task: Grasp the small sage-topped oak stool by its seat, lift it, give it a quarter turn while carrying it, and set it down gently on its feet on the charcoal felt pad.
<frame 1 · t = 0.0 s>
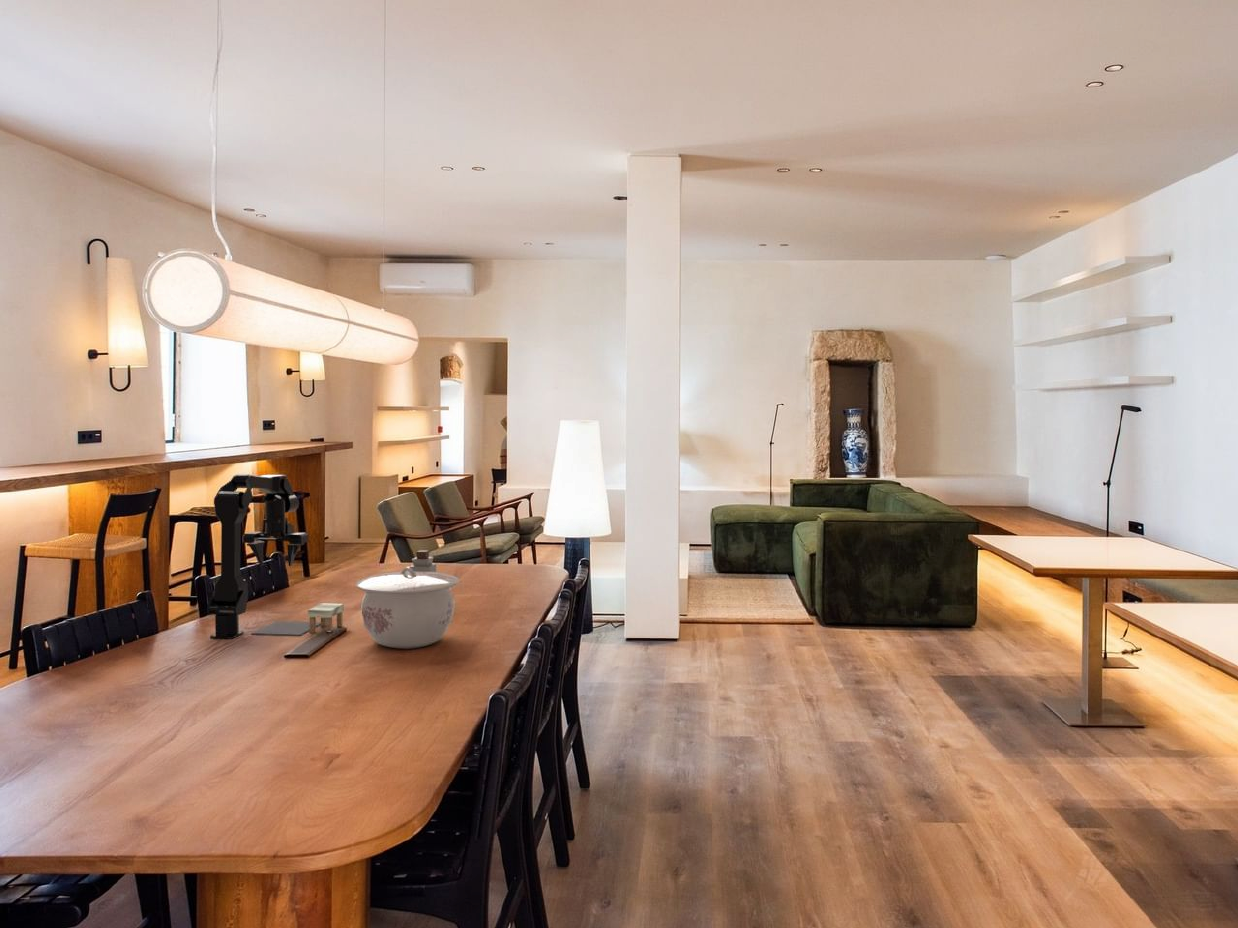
hand: (276, 565, 265), 15 cm above the table, fingers open, 9 cm apart
perfume bottle: (423, 607, 276), on the table
chamber pot: (409, 642, 232), on the table
felt pad: (287, 629, 246), on the table
stool: (326, 629, 246), on the table
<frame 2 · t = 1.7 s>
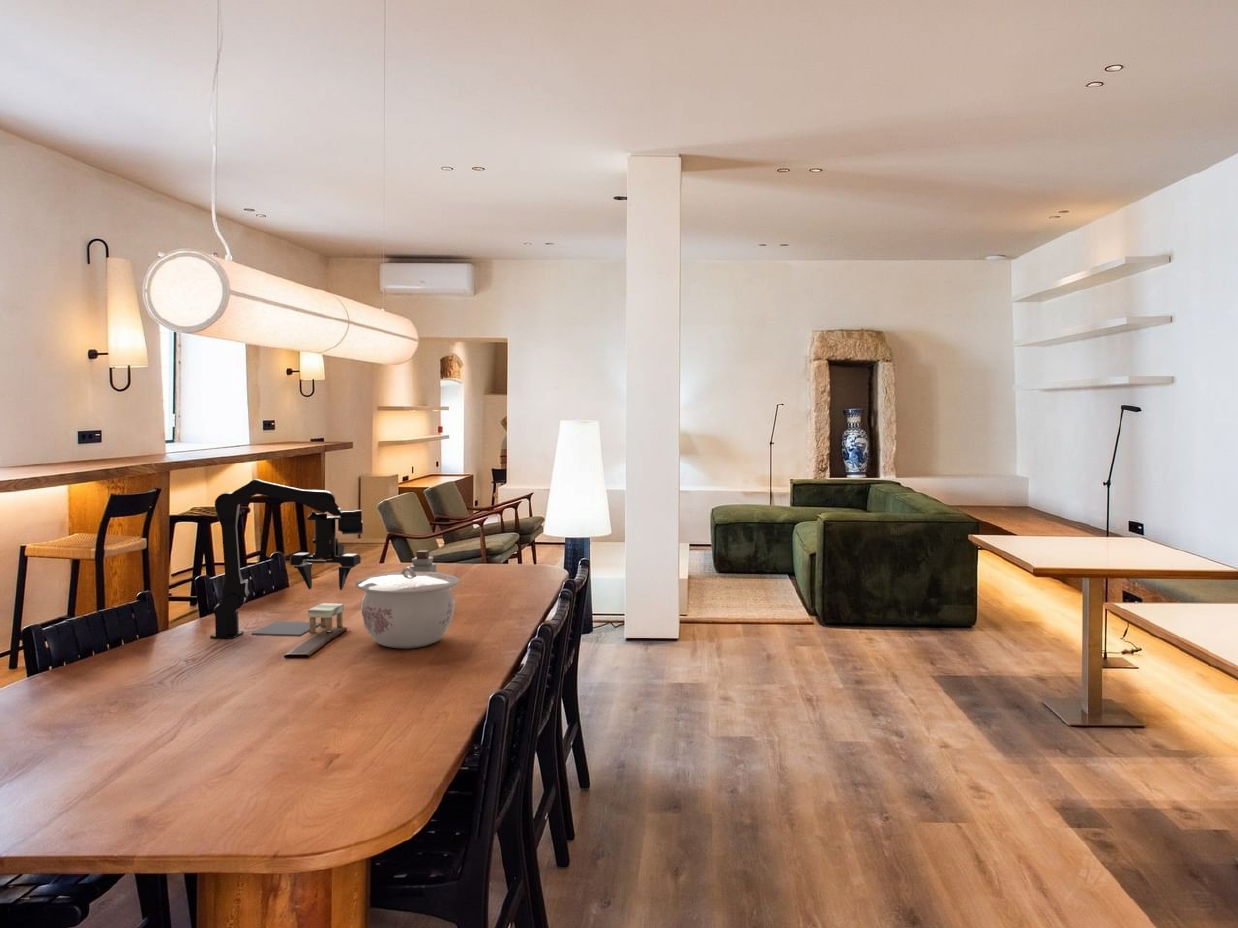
hand: (325, 589, 245), 11 cm above the table, fingers open, 9 cm apart
nothing on the table moved.
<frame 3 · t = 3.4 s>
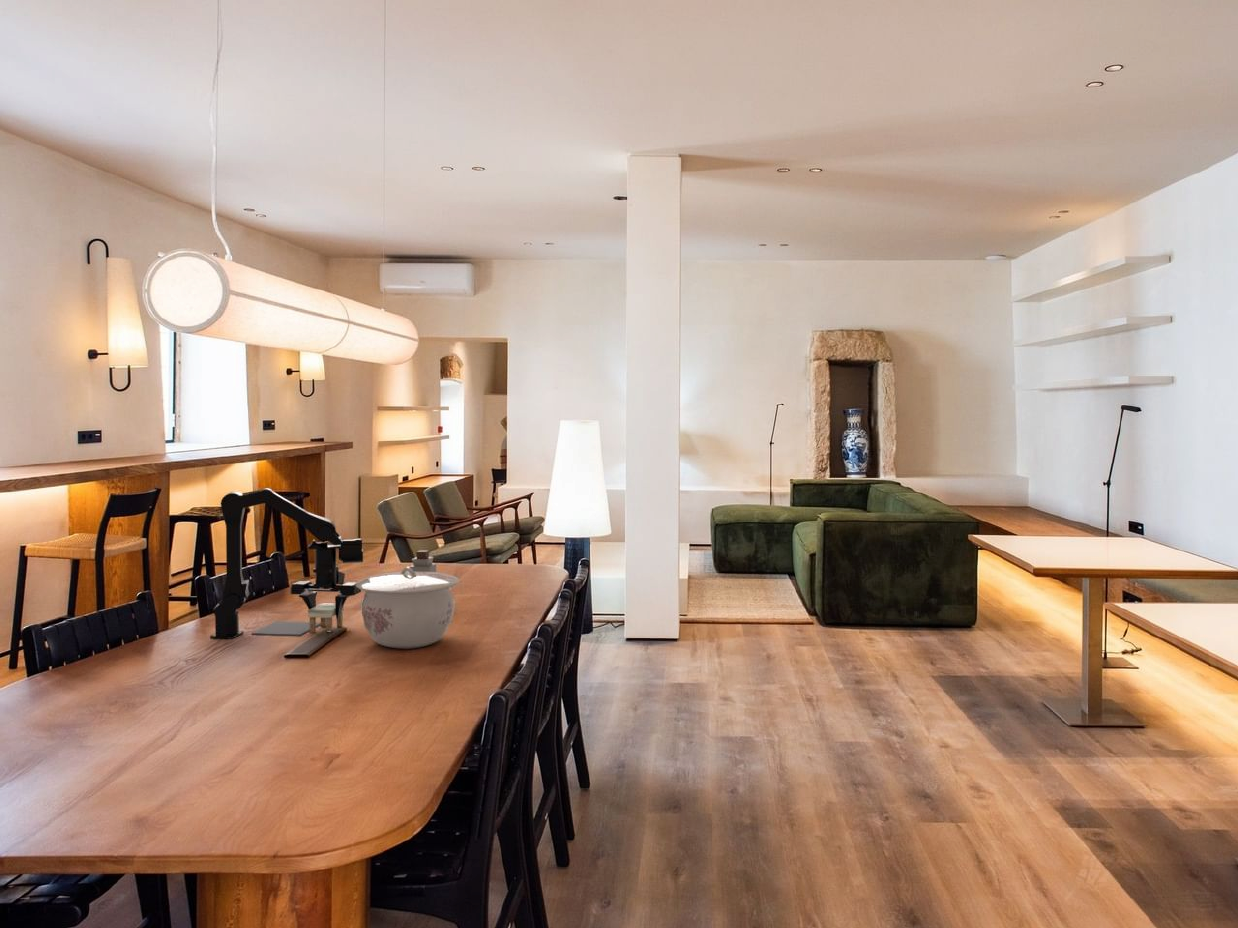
hand: (326, 618, 246), 3 cm above the table, fingers closed on stool, 6 cm apart
stool: (326, 629, 246), on the table, touching gripper
everything else where it was.
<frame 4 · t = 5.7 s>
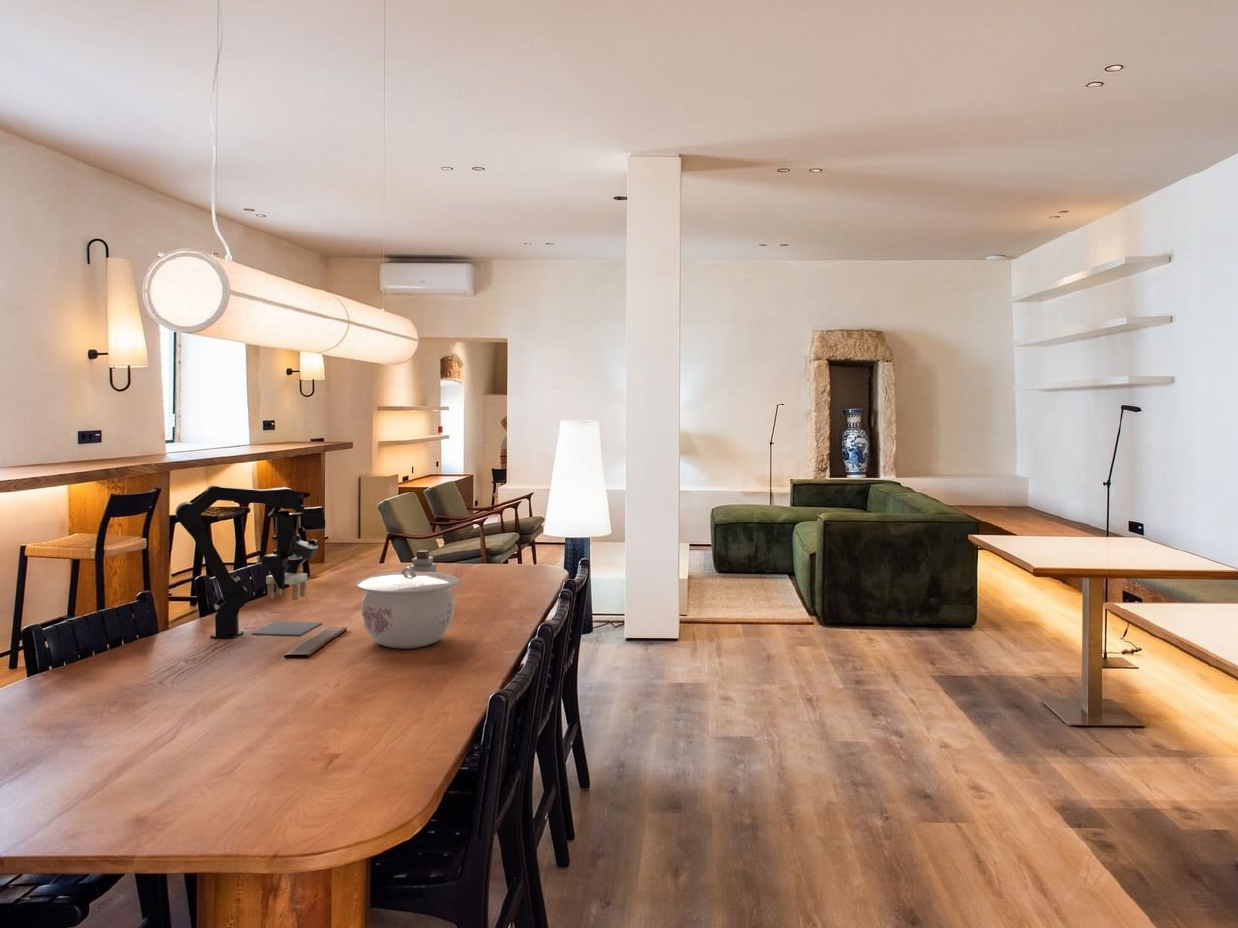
hand: (286, 586, 245), 12 cm above the table, fingers closed on stool, 6 cm apart
stool: (287, 597, 245), point 9 cm above the table, touching gripper
everything else where it was.
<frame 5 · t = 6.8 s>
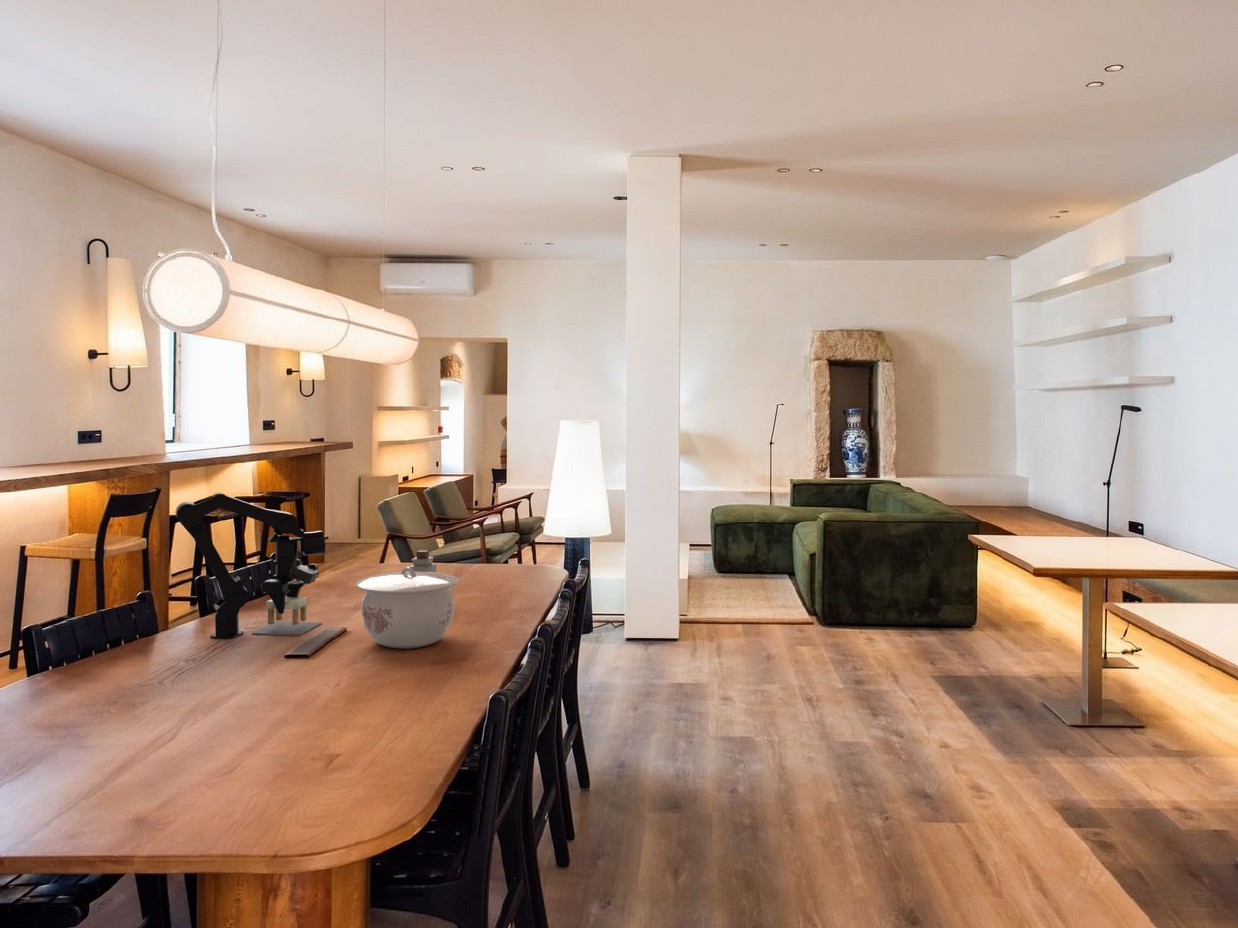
hand: (287, 610, 245), 5 cm above the table, fingers closed on stool, 6 cm apart
stool: (287, 621, 246), point 2 cm above the table, touching gripper
everything else where it was.
when the fingers open (4 cm above the table, at t = 8.0 s): stool stays where it is, resting on felt pad.
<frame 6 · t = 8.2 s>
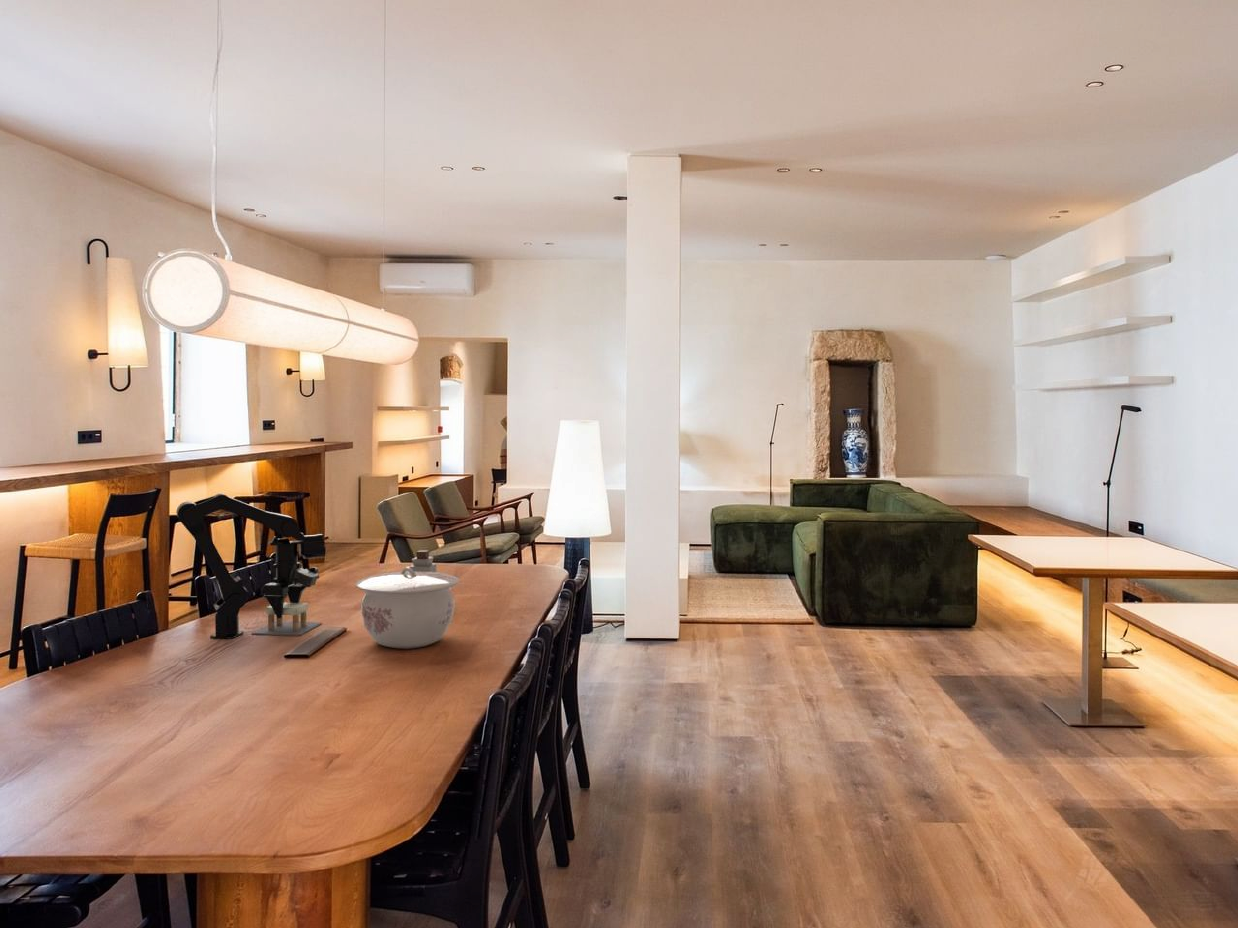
hand: (287, 614, 245), 4 cm above the table, fingers open, 9 cm apart
stool: (287, 627, 246), resting on felt pad
everything else where it was.
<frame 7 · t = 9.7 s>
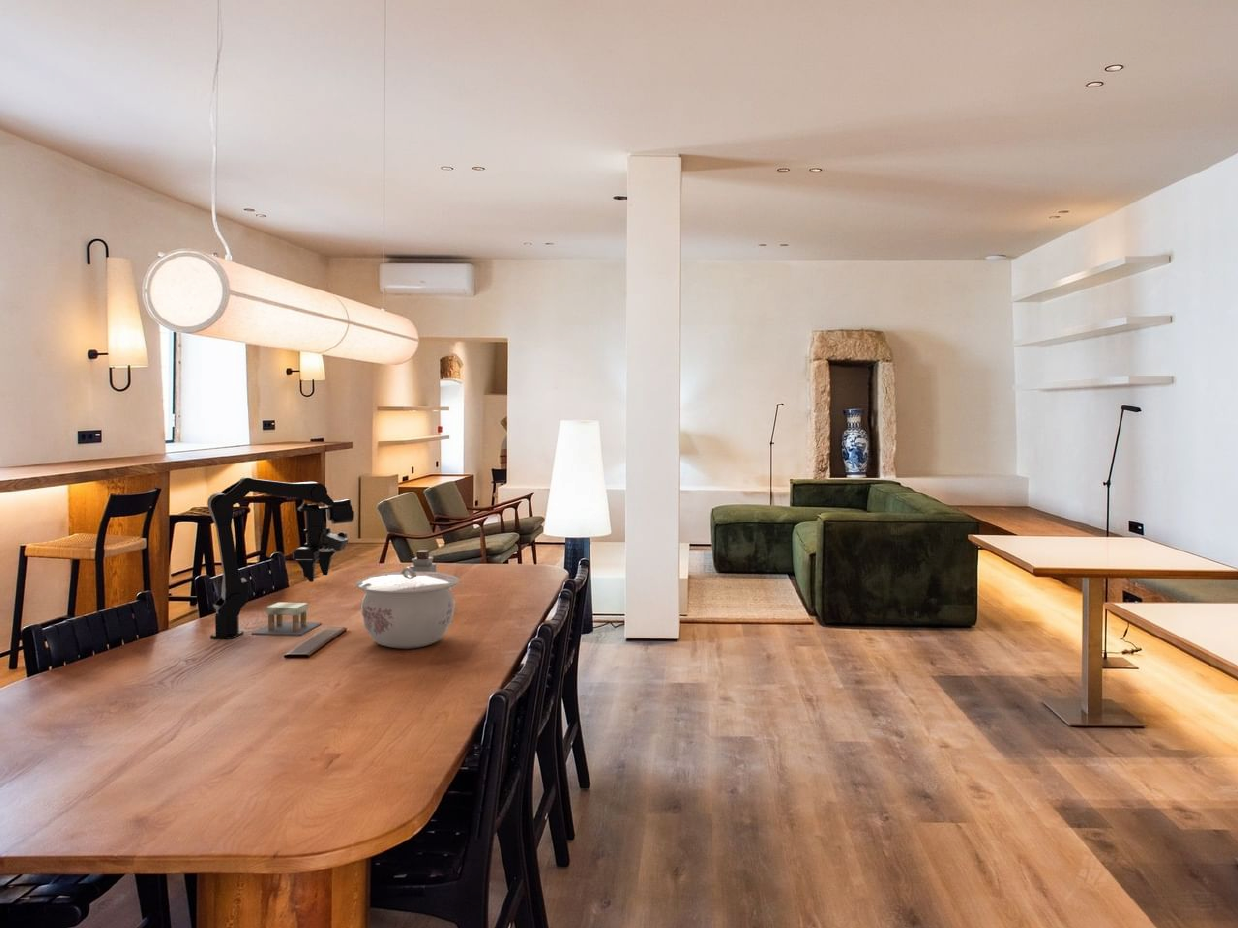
hand: (318, 578, 251), 14 cm above the table, fingers open, 9 cm apart
nothing on the table moved.
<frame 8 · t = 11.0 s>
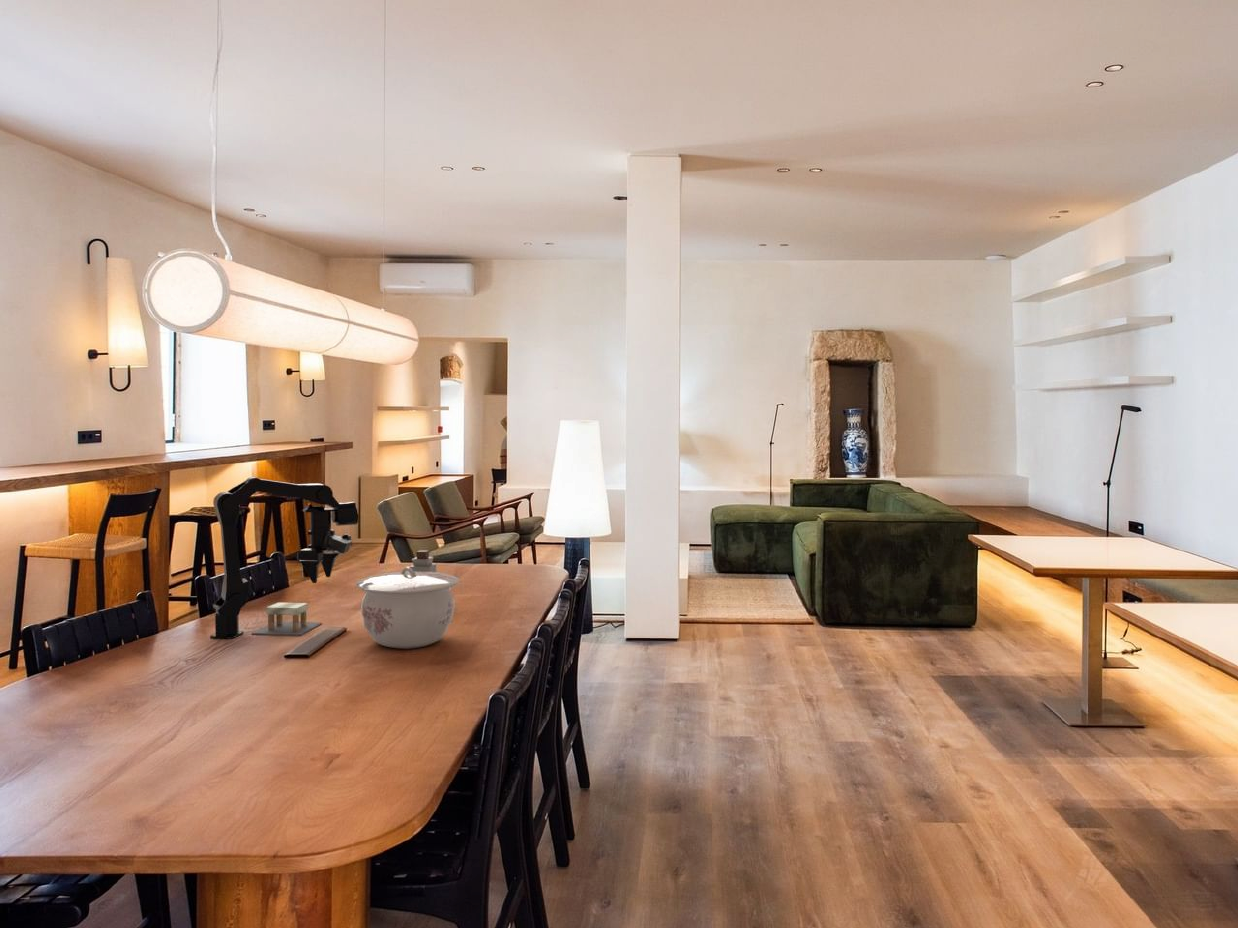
hand: (321, 579, 251), 13 cm above the table, fingers open, 9 cm apart
nothing on the table moved.
at the end: stool inside the target area on the felt pad (0.0 cm from its centre), point 0.4 cm above the felt pad's base; stool tilted 0°; the gripper is holding nothing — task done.
